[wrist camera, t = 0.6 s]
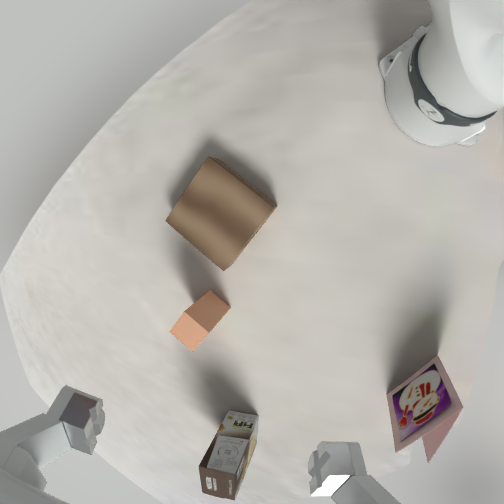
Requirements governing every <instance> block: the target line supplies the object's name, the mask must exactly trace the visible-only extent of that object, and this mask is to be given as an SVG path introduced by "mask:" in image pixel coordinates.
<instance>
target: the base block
mask: <svg viewBox="0 0 504 504" xmlns="http://www.w3.org/2000/svg"><path fill="white" fill-rule="evenodd" d="M276 207H277V205H276V204H274V203H273V202H272V201H271V200H269V199H268V198H267V197H266V196H264V195H263V194H262V193H261V192H259V191H258V190H257V189H255V188H254V187H253V186H252V185H250V184H249V183H248V182H247V181H245V180H244V179H243V178H241V177H240V176H239V175H238V174H236V173H235V172H234V171H232V170H231V169H230V168H229V167H227V166H226V165H225V164H223V163H222V162H221V161H219V160H218V159H216V158H212V157H208V158H207V159H206V161H205V162H204V164H203V165H202V166H201V168H200V169H199V171H198V172H197V174H196V175H195V177H194V178H193V180H192V181H191V183H190V184H189V185H188V187H187V188H186V190H185V191H184V193H183V194H182V196H181V197H180V199H179V200H178V202H177V204H176V205H175V207H174V208H173V210H172V211H171V213H170V214H169V216H168V217H167V219H166V222H167V223H168V224H169V225H171V226H172V227H173V228H174V229H175V230H176V231H177V232H179V233H180V234H181V235H182V236H183V237H184V238H185V239H187V240H188V241H189V242H190V243H191V244H192V245H194V246H195V247H196V248H197V249H198V250H199V251H201V252H202V253H203V254H204V255H205V256H206V257H208V258H209V259H210V260H211V261H212V262H213V263H215V264H216V265H217V266H218V267H219V268H221V269H222V270H223V271H224V270H226V269H227V268H228V267H230V266H231V265H232V264H233V262H234V261H235V260H236V258H237V257H238V256H239V255H240V253H241V252H242V251H243V249H244V248H245V247H246V246H247V244H248V243H249V242H250V240H251V239H252V238H253V237H254V235H255V234H256V233H257V232H258V230H259V229H260V228H261V226H262V225H263V224H264V223H265V221H266V220H267V219H268V217H269V216H270V215H271V214H272V212H273V211H274V210H275V209H276Z"/></svg>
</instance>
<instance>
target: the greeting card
mask: <svg viewBox="0 0 504 504" xmlns="http://www.w3.org/2000/svg"><path fill="white" fill-rule="evenodd" d="M387 400H388V406H389V411H390V418H391V424H392V431H393V437H394V445H395V452H398V451H400V450H401V449H403V448H405V447H406V446H408V445H410V444H411V443H413V442H414V441H416V440H418V439H419V438H421V437H422V439H423V443H424V447H425V452H426V456H427V461H428V463H429V461H430V460H431V458H432V457H433V455H434V454H435V453H436V451H437V449H438V448H439V447H440V445H441V443H442V442H443V440H444V439H445V437H446V436H447V434H448V432H449V431H450V429H451V427H452V426H453V424H454V422H455V421H456V419H457V417H458V416H459V414H460V412H461V410H462V408H463V406H462V403H461V401H460V399H459V397H458V395H457V393H456V391H455V389H454V386H453V384H452V382H451V380H450V378H449V376H448V374H447V372H446V370H445V368H444V366H443V364H442V362H441V360H440V359H439V357H438V355H437V356H435V357H434V358H433V359H432V360H431V361H429V362H428V363H427V364H426V365H425V366H423V367H422V368H421V369H420V370H418V371H417V372H416V373H414V374H413V375H412V376H411V377H409V378H408V379H407V380H405V381H404V382H403V383H401V384H400V385H399V386H397V387H396V388H395V389H393V390H392V391H390V392H389V393H388V394H387Z"/></svg>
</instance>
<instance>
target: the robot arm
mask: <svg viewBox="0 0 504 504" xmlns="http://www.w3.org/2000/svg"><path fill="white" fill-rule="evenodd" d="M427 1H428V4H429V6H430V10H431V14H432V20H431V23H430V24H429V25H428V26H427V27H423V26H420V27H419V28H418V29H417V30H416V31H415V32H414V33H413V35H414V36H412V37H411V38H410V39H408V40H407V41H406V42H404V43H403V44H401V45H400V46H399V47H397V48H396V49H395V50H393V51H392V52H391V53H389V54H388V55H387V56H385V57H384V58H383V59H381V61H380V62H379V69H380V72H381V74H382V76H383V78H384V81H385V98H386V103H387V107H388V109H389V112H390V114H391V116H392V118H393V119H394V121H395V122H396V124H397V125H398V126H399V127H400V129H401V130H402V131H403V132H404V133H406V134H407V135H408V136H409V137H411V138H412V139H414V140H416V141H418V142H420V143H422V144H425V145H429V146H446V145H450V144H454V143H458V144H462V145H467V146H471V145H473V144H475V143H476V141H477V139H478V136H479V134H480V132H481V131H483V130H484V129H485V128H486V126H485V123H486V121H487V119H489V118H490V117H491V116H493V115H494V114H495V113H496V112H497V110H500V109H502V108H504V0H427ZM390 60H393V62H392V63H391V62H390ZM102 406H103V401H102V399H100V398H98V397H95V396H92V395H89V394H87V393H84V392H82V391H79V390H77V389H74V388H72V387H69V386H67V385H65V386H64V387H63V388H62V389H61V391H60V393H59V394H58V396H57V397H56V399H55V401H54V402H53V404H52V406H51V407H50V409H49V411H48V412H47V414H44V413H42V414H40V415H38V416H36V417H33V418H31V419H29V420H27V421H24V422H22V423H20V424H18V425H15V426H14V427H11V428H9V429H6V430H4V431H1V432H0V504H69V503H67V502H64V501H62V500H60V499H58V498H55V497H54V496H51V495H49V494H47V493H45V492H43V491H44V489H45V486H46V484H47V482H46V479H45V478H44V476H43V475H42V473H41V472H40V470H39V469H41V468H43V467H44V466H46V465H47V464H49V463H50V462H52V461H53V460H55V459H57V458H58V457H59V456H61V455H63V454H64V453H66V452H67V451H68V450H70V449H71V448H74V449H77V450H79V451H82V452H85V453H87V454H90V455H92V452H93V450H94V448H95V445H96V443H97V440H96V436H97V435H98V434H100V433H101V431H102V429H103V425H104V421H105V413H104V411H103V410H102V409H101V408H102ZM317 449H318V450H316V451H314V452H313V453H312V454H311V456H310V458H309V462H308V473H309V474H310V475H311V476H312V477H313V478H312V479H311V481H310V482H309V483H310V492H311V496H331V498H332V499H333V501H334V502H335V503H336V504H401V503H399V502H398V501H397V500H396V499H395V498H394V497H393V496H392V495H391V494H390V493H389V492H388V491H387V490H386V489H384V488H383V487H382V486H381V485H380V484H379V483H378V482H377V481H376V480H375V479H374V478H373V477H372V476H371V475H367V471H366V467H365V463H364V459H363V456H362V452H361V448H360V444H359V443H358V442H328V441H322V442H320V443H319V444H318V446H317Z"/></svg>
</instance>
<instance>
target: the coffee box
mask: <svg viewBox="0 0 504 504" xmlns="http://www.w3.org/2000/svg"><path fill="white" fill-rule="evenodd" d="M257 431H258V415H253V414H247V413H241V412H236V411H231V410H229V411H228V412H227V414H226V416H225V418H224V420H223V422H222V424H221V426H220V428H219V430H218V431H217V433H216V435H215V437H214V439H213V441H212V443H211V444H210V446H209V448H208V450H207V452H206V454H205V456H204V457H203V459H202V461H201V463H200V465H199V472H200V479H201V486H202V492H203V493H205V494H209V495H212V496H216V497H220V498H227V499H231V500H235V499H236V497H237V494H238V492H239V489H240V486H241V484H242V481H243V479H244V476H245V473H246V470H247V468H248V465H249V462H250V460H251V457H252V454H253V452H254V449H255V446H256V443H257Z"/></svg>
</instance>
